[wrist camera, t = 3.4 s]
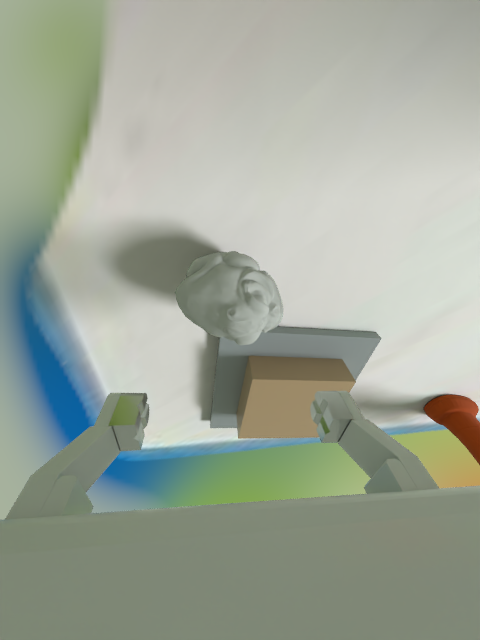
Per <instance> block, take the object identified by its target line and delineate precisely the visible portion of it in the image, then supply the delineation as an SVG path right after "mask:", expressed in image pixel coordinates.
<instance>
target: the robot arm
mask: <svg viewBox="0 0 480 640" xmlns="http://www.w3.org/2000/svg"><path fill="white" fill-rule="evenodd" d="M146 402H147V394H146V393H110V394H109V395H108V396H107V399H106V401H105V403H104V405H103V407H102V410H101V412H100V414H99V416H98V418H97V421H96V423H95V425H94V427H89V428H88V429H87V430H86V431H84V432H83V433H82V434H81V435H80V436H78V437H77V438H76V439H75V440H74V441H72V442H71V443H70V444H69V445H68V446H66V447H65V448H64V449H63V450H61V451H60V452H59V453H58V454H57V455H56V456H54V457H53V458H52V459H51V460H49V461H48V462H47V463H46V464H45V465H43V466H42V467H41V468H40V469H38V470H37V471H36V472H35V473H34V474H33V475H31V476H30V478H29V480H28V481H27V483H26V485H25V487H24V488H23V490H22V491H21V493H20V495H19V497H18V498H17V500H16V502H15V503H14V505H13V507H12V508H11V510H10V512H9V513H8V515H7V517H6V519H5V520H0V640H480V486H470V487H455V488H441V489H439V487H438V486H437V484H436V483H435V481H434V480H433V479H432V477H431V476H430V474H429V473H428V471H427V470H426V469H425V467H424V466H423V464H422V463H421V461H420V460H419V458H418V457H417V456H416V455H414V454H413V453H412V452H410V451H409V450H408V449H406V448H405V447H404V446H402V445H401V444H400V443H398V442H397V441H396V440H394V439H393V438H392V437H390V436H389V435H388V434H386V433H385V432H384V431H382V430H381V429H380V428H378V427H377V426H376V425H374V424H373V423H372V422H370V421H369V420H368V419H364V417H363V415H362V414H361V412H360V410H359V409H358V407H357V405H356V404H355V402H354V400H353V399H352V397H351V395H350V394H349V392H347V391H317V392H316V393H315V400H314V401H313V402H312V403H311V406H310V413H311V417H312V420H313V422H315V423H316V424H317V425H318V426H317V429H316V430H317V433H318V435H319V438H320V440H321V443H330V442H331V443H337V442H339V443H338V444H339V445H340V446H341V447H342V448H343V449H344V450H345V451H346V452H347V453H348V454H349V455H350V457H351V458H352V459H353V460H354V461H355V462H356V463H357V464H358V465H359V466H360V467H361V468H362V469H363V470H364V471H365V472H366V474H367V475H368V476H369V477H370V478H371V479H370V480H369V481H368V483H367V484H366V485H365V487H364V489H365V491H366V493H367V494H357V495H342V496H328V497H315V498H301V499H287V500H272V501H259V502H244V503H230V504H217V505H202V506H188V507H174V508H160V509H147V510H133V511H118V512H104V513H91V512H92V509H93V505H92V503H91V501H90V500H89V498H88V496H87V495H86V492H87V491H88V490H89V488H90V487H91V486H92V485H93V484H94V482H95V481H96V480H97V479H98V478H99V477H100V475H101V474H102V473H103V472H104V471H105V470H106V468H107V467H108V466H109V465H110V464H111V462H112V461H113V460H114V459H115V458H116V457H117V456H118V454H119V453H120V451H131V450H141V447H142V443H143V439H144V430H143V429H144V428H145V427H146V426H147V423H148V418H149V405H148V404H147V403H146Z"/></svg>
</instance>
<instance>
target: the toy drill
mask: <svg viewBox="0 0 480 640" xmlns="http://www.w3.org/2000/svg"><path fill="white" fill-rule="evenodd" d="M478 410H479V409H478V406H477V404H476V403H475V402H474V401H472V400H471V399H469V398H467V397H464V396H459V395H443V396H439V397H437V398H435V399H433V400H431V401H430V402H429V403H427V404H426V405H425V407H424V411H425V412H426V414H427V415H428V416H429V417H430V418H431V419H432V420H434V421H435V422H436V423H438V424H441V425H444V426H445V427H446V428H447V429H448V430H450V431H451V432H452V433H453V434H454V435H455V436H456V437H457V438H458V439H459V440H460V441H461V442H462V443H463V445H465V446H466V448H467V449H468V450H469V452H470V453H471V454H472V455H473V457H474V458H475V459H476V461H477V462H478V463H479V465H480V422H479V421H478V420H477V419H476V415H477V413H478Z"/></svg>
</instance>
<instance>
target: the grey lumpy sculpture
mask: <svg viewBox="0 0 480 640" xmlns="http://www.w3.org/2000/svg"><path fill="white" fill-rule="evenodd" d="M186 276H187V278H186V279H185V280H183V281H182V282H181V284H180V285H179V286H178V287H177V289H176V291H175V294H176V299H177V302H178V305H179V307H180V309H181V310H182V312H183V313H184V315H185V316H186V317H187V318H188V319H189V320H191V321H192V322H193V323H195V324H196V325H198V326H200V327H201V328H203V329H204V330H205V331H206V332H207V333H209V334H211V335H213V336H216V337H222V338H223V337H225V338H226V339H229V340H230V341H231V340H232V341H235V342H236V343H237V344H238V345H249V344H252V343H254V342H255V341H256V340H257V339H258V337H259V336H260V334H261V332H264V333H266V332H268V331H269V330H271V329H274V328H275V327H277V326H278V325H279V323H280V322H281V320H282V317H283V305H282V301H281V297H280V294H279V291H278V288H277V285H276V283H275V281H274V280H273V279H272V277H271V276H270V275H268V273H266V272H265V271H260V267H259V264H258V263H257V262H256V261H255V260H254V259H252V258H251V257H249V256H247V255H244V254H240V253H238V252H236V251H231V252H228V253H227V252H219V253H214V254H209V255H206V256H203V257H199V258H197V259H195V260H194V261H193V262H192V264H191V265H190V267H189V269H188V271H187V275H186Z"/></svg>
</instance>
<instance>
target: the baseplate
mask: <svg viewBox="0 0 480 640" xmlns="http://www.w3.org/2000/svg"><path fill="white" fill-rule="evenodd" d="M380 340H381V337H380V336H379V335H378V334H377V333H376V332H363V331H345V330H327V329H310V328H292V327H275V328H274V329H271V330H269V331H268V332H266V333H264V332H261V334H260V336H259V337H258V339H257V340H256V341H255V342H254V343H252V344H249V345H238V344H237V343H236V342H235V341H232V340H231V341H230V340H229V339H226V338H225V337H223V338H222V337H219V346H218V355H217V365H216V374H215V383H214V393H213V402H212V411H211V421H210V428H237V429H238V438H307V437H319V435H318V433H317V430H316V429H317V426H318V425H317V424H316V423H315V422H313V420H312V417H311V413H310V406H311V403H312V402H313V401H314V400H315V393H316V392H317V391H347V392H350V390H351V389H352V387H353V386H354V384H355V382H356V379H357V377H358V376H359V374H360V372H361V371H362V369H363V368H364V366H365V364H366V363H367V361H368V360H369V358H370V356H371V355H372V353H373V351H374V350H375V348H376V347H377V345H378V343H379V342H380Z"/></svg>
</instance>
